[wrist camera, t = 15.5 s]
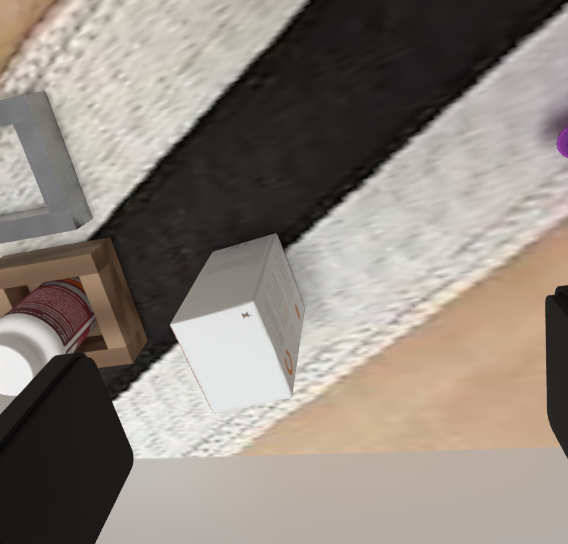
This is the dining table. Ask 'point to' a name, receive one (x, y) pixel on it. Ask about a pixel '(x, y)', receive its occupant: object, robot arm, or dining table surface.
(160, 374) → the dining table surface
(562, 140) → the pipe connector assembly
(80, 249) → the tray
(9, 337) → the pill bottle
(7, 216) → the socket block
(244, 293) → the small box
